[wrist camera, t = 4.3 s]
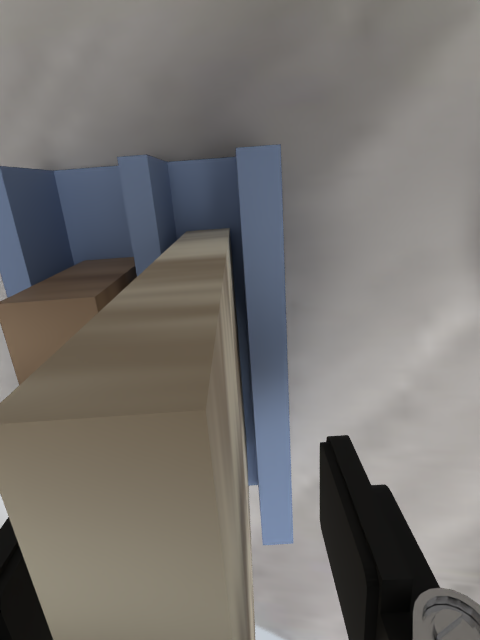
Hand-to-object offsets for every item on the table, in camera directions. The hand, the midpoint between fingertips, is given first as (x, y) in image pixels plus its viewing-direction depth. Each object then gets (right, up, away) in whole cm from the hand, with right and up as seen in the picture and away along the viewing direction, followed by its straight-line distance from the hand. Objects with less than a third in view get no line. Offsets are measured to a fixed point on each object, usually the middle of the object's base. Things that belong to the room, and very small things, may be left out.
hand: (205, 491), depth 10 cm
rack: (-2, +3, +10) cm, 11 cm away
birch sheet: (0, +3, +9) cm, 10 cm away
